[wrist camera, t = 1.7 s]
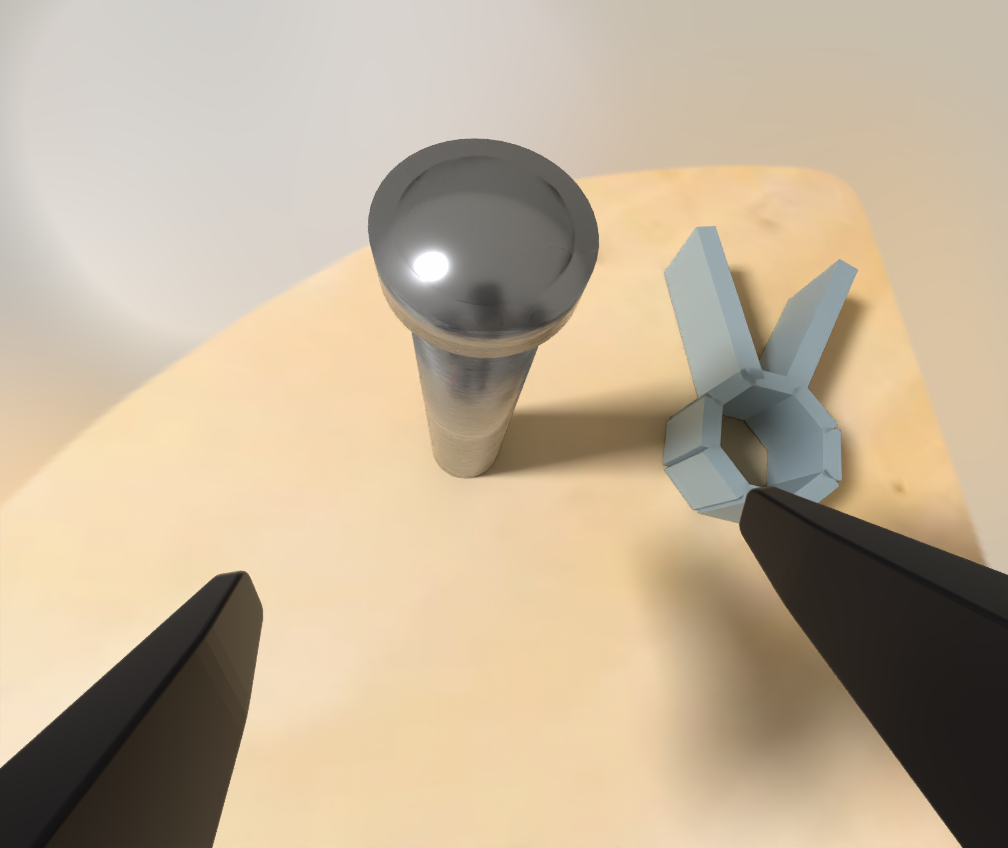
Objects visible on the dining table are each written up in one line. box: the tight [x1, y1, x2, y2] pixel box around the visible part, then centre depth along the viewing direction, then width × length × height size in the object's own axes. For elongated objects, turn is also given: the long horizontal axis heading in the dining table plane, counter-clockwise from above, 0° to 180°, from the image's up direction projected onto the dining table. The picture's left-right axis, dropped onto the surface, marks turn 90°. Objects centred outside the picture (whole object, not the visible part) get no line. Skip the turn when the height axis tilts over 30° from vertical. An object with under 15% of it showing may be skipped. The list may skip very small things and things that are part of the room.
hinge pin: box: [368, 139, 599, 478], centre depth 14 cm, size 4×4×14 cm
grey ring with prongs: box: [663, 226, 858, 523], centre depth 21 cm, size 13×8×4 cm, turn 167°
